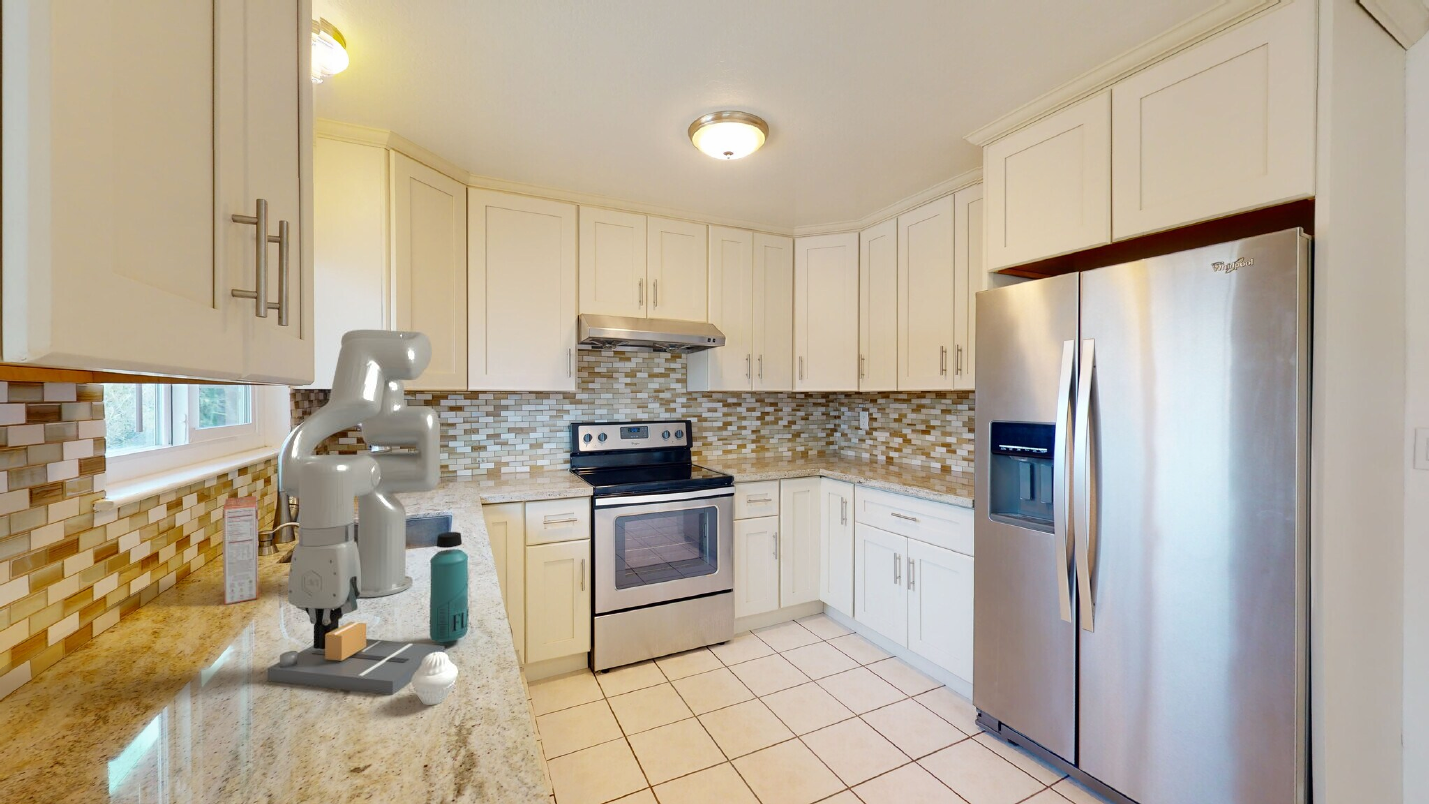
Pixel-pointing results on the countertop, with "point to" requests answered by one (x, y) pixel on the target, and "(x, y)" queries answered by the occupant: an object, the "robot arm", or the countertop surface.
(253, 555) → the cracker box
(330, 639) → the fader tab
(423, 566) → the countertop surface
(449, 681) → the muffin
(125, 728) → the countertop surface
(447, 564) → the beverage bottle
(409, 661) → the console board
